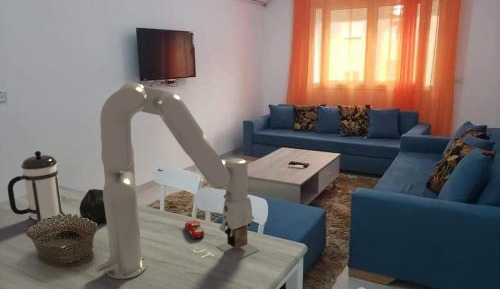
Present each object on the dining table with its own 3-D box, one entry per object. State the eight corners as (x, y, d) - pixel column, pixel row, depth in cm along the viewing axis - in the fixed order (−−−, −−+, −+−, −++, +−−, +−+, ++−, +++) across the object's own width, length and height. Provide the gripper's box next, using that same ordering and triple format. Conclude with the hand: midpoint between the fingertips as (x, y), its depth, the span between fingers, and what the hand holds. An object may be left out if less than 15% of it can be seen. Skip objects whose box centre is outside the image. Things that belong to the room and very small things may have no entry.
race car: (183, 226, 149) (183, 217, 148) (197, 224, 151) (196, 215, 150) (191, 241, 137) (191, 231, 136) (205, 238, 139) (205, 228, 138)
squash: (128, 201, 162) (102, 177, 159) (115, 216, 148) (87, 190, 145) (106, 220, 165) (81, 197, 162) (92, 237, 150) (64, 212, 147)
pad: (237, 260, 124) (237, 259, 123) (216, 247, 132) (216, 246, 132) (259, 250, 130) (259, 249, 130) (238, 238, 139) (238, 237, 139)
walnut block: (236, 248, 127) (236, 230, 126) (227, 243, 131) (227, 225, 129) (247, 244, 130) (247, 226, 129) (238, 239, 134) (238, 221, 132)
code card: (201, 264, 121) (201, 264, 121) (182, 250, 130) (182, 250, 130) (223, 255, 127) (223, 254, 127) (204, 242, 136) (204, 242, 136)
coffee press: (38, 211, 165) (28, 146, 158) (73, 211, 165) (64, 146, 158) (12, 228, 149) (0, 157, 142) (51, 229, 148) (40, 157, 141)
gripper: (223, 203, 118) (224, 254, 122) (262, 191, 129) (262, 238, 133) (210, 197, 124) (211, 246, 128) (248, 186, 134) (249, 231, 139)
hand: (237, 241), depth 130 cm, fingers closed on walnut block, 5 cm apart
